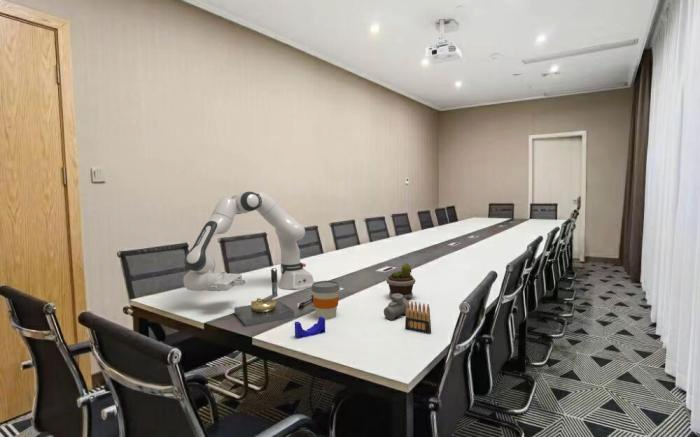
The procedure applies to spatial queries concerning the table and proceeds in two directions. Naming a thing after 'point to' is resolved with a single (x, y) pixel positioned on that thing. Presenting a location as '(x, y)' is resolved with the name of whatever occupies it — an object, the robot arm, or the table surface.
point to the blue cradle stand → (310, 329)
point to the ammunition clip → (418, 318)
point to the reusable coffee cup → (325, 298)
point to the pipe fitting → (396, 306)
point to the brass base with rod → (267, 302)
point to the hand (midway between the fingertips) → (244, 282)
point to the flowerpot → (401, 282)
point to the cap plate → (263, 314)
